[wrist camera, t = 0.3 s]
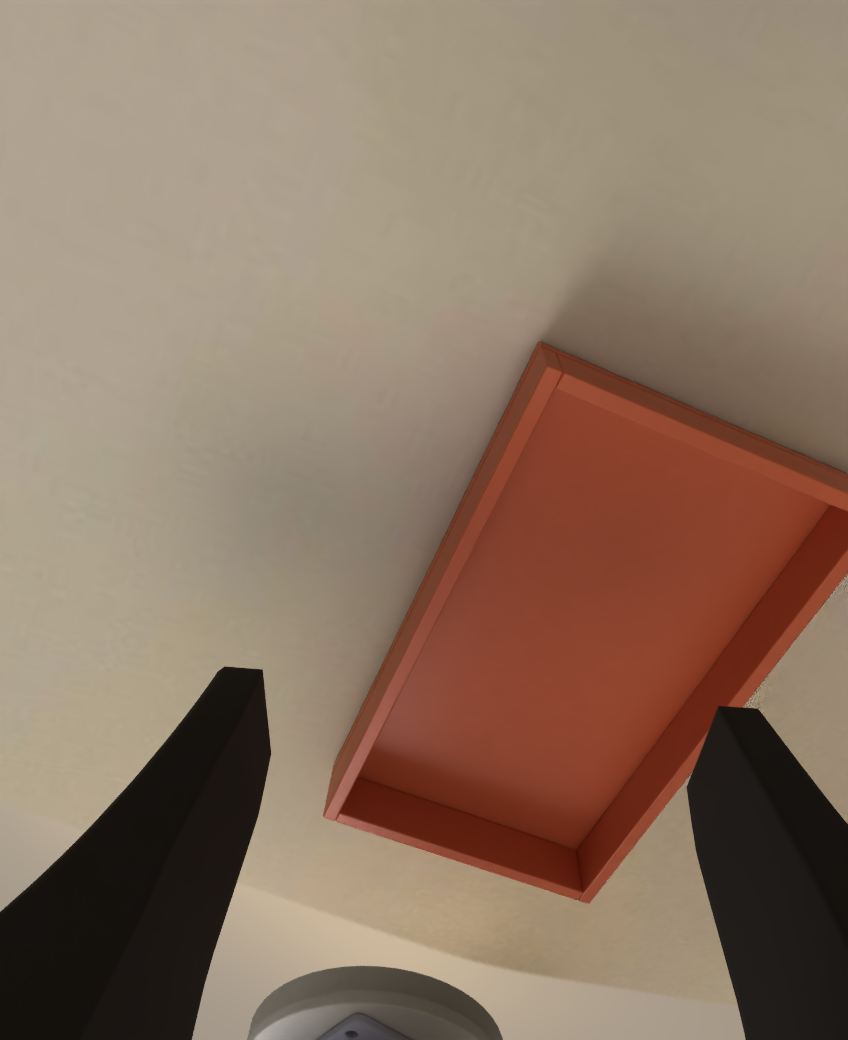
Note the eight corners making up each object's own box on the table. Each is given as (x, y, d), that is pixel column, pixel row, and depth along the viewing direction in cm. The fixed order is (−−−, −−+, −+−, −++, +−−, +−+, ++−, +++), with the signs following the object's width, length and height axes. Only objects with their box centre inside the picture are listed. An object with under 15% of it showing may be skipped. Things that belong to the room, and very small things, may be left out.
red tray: (580, 848, 26) (589, 904, 24) (332, 765, 25) (322, 817, 23) (854, 476, 20) (895, 513, 18) (538, 340, 18) (546, 364, 16)
